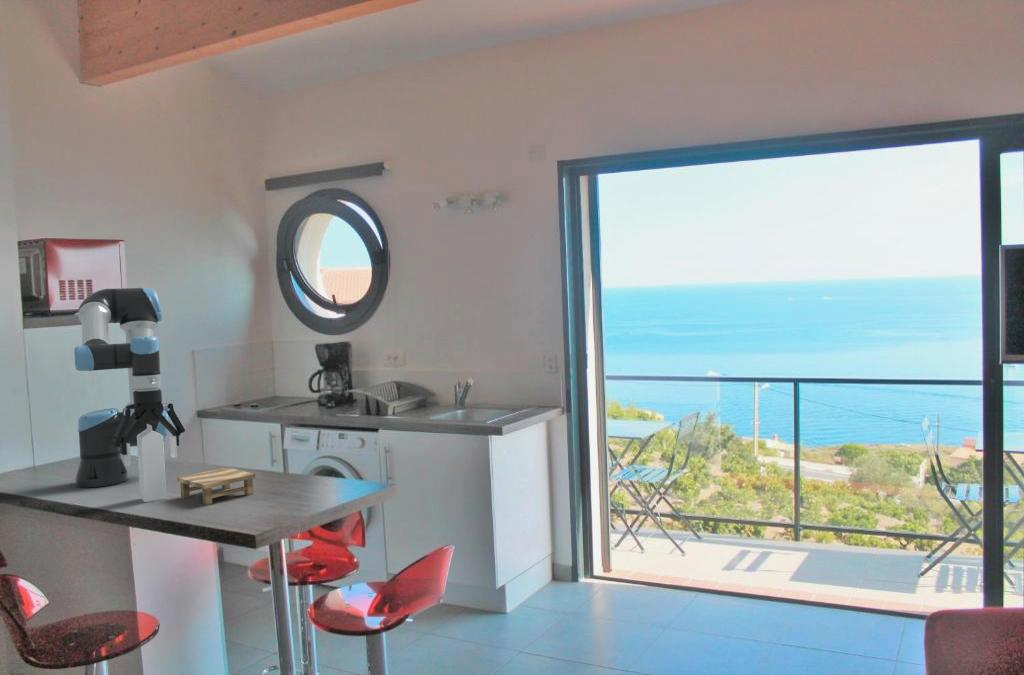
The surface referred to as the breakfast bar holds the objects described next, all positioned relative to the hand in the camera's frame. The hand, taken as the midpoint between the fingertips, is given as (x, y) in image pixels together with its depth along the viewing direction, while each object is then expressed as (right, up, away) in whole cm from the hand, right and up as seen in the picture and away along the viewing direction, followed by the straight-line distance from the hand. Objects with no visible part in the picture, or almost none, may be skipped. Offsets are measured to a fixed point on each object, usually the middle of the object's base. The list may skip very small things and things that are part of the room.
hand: (151, 461), depth 233 cm
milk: (0, -11, +1) cm, 11 cm away
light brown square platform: (+18, -10, +2) cm, 21 cm away
